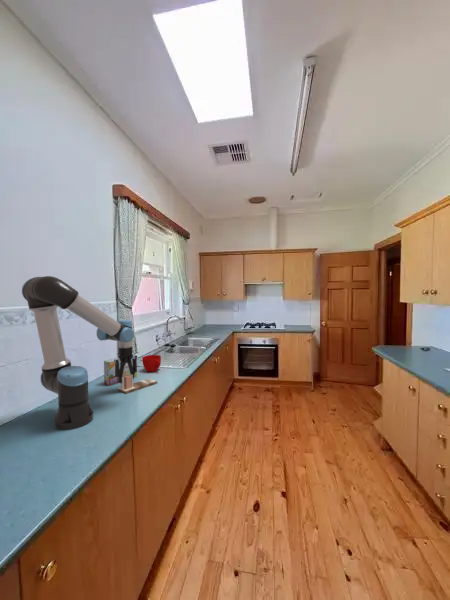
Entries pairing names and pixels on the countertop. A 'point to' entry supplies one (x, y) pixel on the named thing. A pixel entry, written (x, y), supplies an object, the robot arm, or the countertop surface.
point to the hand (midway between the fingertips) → (126, 386)
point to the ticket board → (141, 385)
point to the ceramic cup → (151, 362)
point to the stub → (127, 383)
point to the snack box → (110, 372)
